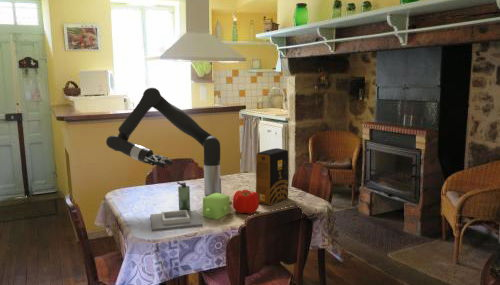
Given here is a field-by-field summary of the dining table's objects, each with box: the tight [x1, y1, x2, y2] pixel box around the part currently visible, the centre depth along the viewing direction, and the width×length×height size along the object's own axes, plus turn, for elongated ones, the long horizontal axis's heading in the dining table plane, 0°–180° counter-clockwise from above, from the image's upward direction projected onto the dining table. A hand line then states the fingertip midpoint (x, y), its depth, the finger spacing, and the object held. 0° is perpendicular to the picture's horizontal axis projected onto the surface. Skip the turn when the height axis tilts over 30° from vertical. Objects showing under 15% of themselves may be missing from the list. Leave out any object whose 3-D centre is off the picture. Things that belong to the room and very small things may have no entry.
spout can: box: [176, 181, 191, 211], centre depth 203 cm, size 6×6×15 cm
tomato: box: [232, 189, 260, 215], centre depth 200 cm, size 14×13×10 cm
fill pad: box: [149, 209, 203, 232], centre depth 189 cm, size 22×20×3 cm
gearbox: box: [202, 192, 233, 220], centre depth 195 cm, size 18×10×10 cm, turn 148°
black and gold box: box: [255, 147, 289, 206], centre depth 218 cm, size 11×19×28 cm, turn 142°
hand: (168, 164), depth 207 cm, fingers open, 8 cm apart
